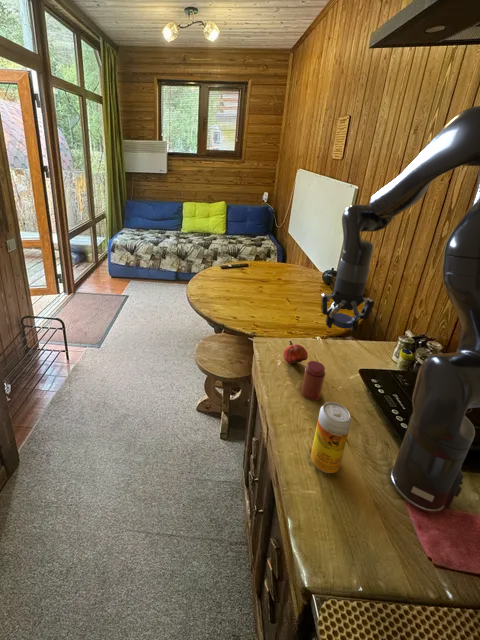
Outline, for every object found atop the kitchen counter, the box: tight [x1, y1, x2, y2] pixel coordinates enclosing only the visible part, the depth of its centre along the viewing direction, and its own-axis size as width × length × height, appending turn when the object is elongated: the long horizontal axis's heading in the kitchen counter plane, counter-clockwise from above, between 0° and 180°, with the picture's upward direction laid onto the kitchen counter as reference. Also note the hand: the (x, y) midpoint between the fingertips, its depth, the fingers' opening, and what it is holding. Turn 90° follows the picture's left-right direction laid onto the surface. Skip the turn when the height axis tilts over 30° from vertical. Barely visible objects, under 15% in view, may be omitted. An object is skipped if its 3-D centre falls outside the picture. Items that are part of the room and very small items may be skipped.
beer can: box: [310, 401, 352, 474], centre depth 67 cm, size 6×6×15 cm
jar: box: [300, 360, 326, 401], centre depth 88 cm, size 5×5×10 cm
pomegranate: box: [283, 340, 309, 372], centre depth 101 cm, size 7×7×10 cm
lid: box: [332, 312, 354, 330], centre depth 90 cm, size 6×6×2 cm
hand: (340, 328), depth 91 cm, fingers closed on lid, 5 cm apart
